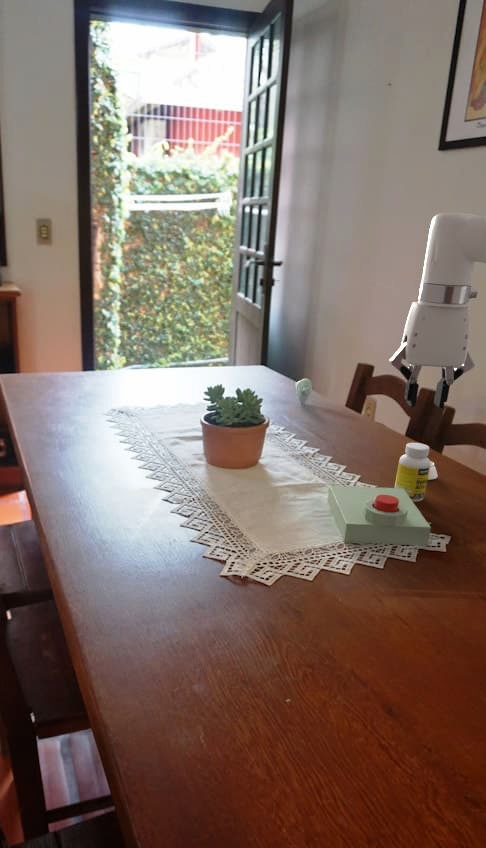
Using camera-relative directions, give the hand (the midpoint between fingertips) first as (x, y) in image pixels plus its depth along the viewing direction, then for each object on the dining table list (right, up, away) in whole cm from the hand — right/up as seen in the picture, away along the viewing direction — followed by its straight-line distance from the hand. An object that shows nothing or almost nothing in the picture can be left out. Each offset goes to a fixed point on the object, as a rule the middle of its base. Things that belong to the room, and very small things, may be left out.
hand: (424, 404), depth 118 cm
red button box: (-10, -20, -4) cm, 23 cm away
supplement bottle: (-1, -16, +7) cm, 18 cm away
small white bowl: (+5, -12, +17) cm, 22 cm away
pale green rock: (-11, +9, +66) cm, 67 cm away
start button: (-10, -18, -11) cm, 23 cm away
